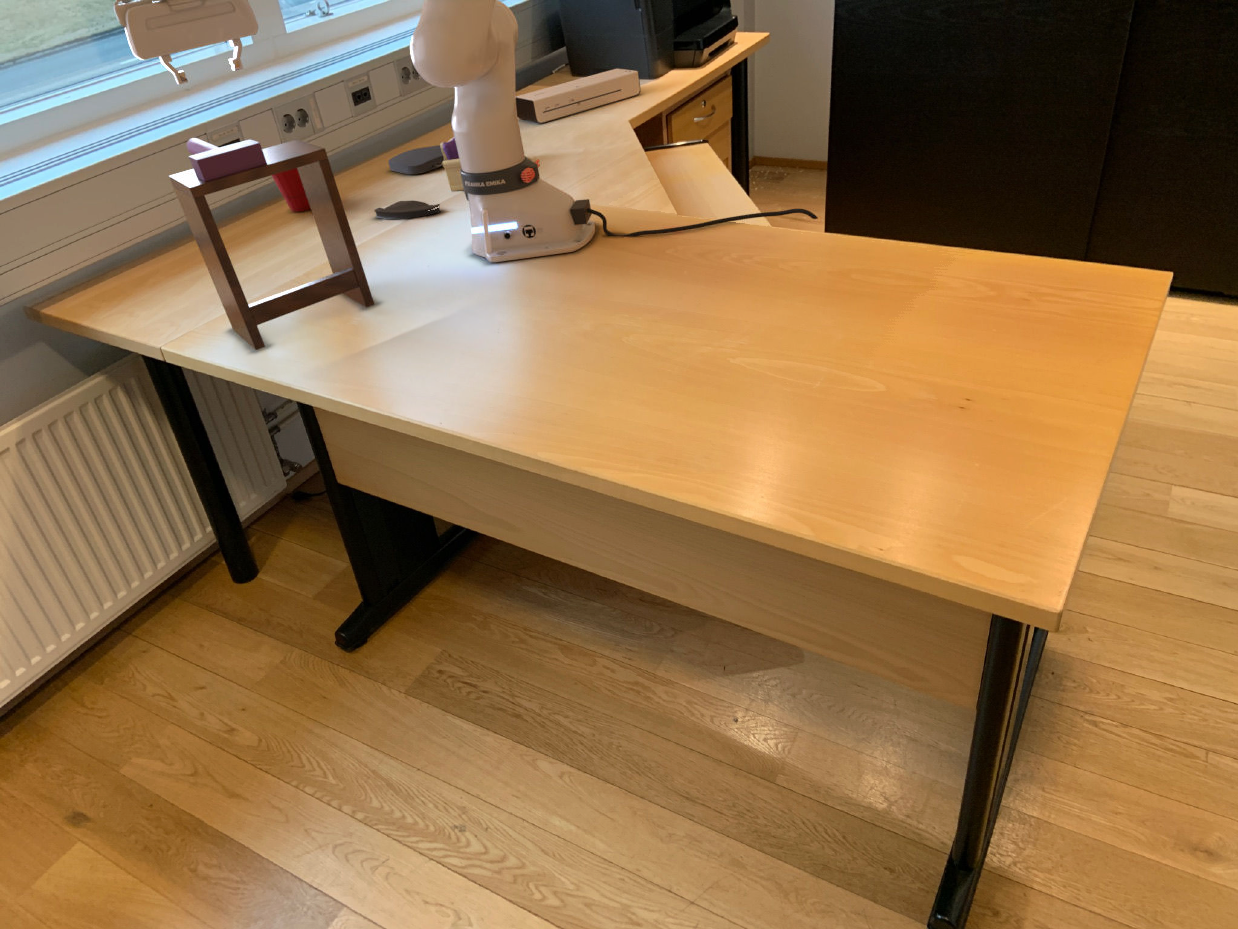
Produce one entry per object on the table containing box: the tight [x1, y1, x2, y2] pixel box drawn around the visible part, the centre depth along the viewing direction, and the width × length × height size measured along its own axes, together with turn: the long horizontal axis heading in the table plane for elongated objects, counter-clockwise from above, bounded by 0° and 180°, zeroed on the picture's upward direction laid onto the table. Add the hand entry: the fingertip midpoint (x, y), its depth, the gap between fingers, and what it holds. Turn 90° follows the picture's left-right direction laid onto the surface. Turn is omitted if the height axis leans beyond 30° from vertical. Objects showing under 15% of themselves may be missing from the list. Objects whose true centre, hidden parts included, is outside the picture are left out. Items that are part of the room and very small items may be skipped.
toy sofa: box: [439, 135, 464, 192], centre depth 199 cm, size 21×9×10 cm, turn 169°
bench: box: [168, 139, 375, 351], centre depth 138 cm, size 20×12×25 cm, turn 127°
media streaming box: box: [387, 144, 445, 175], centre depth 217 cm, size 15×15×3 cm
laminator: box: [516, 67, 641, 125], centre depth 246 cm, size 34×12×6 cm, turn 124°
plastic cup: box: [270, 168, 311, 213], centre depth 197 cm, size 11×11×12 cm
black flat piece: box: [373, 199, 441, 220], centre depth 184 cm, size 8×14×2 cm, turn 57°
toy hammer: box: [186, 137, 267, 182], centre depth 132 cm, size 20×9×3 cm, turn 37°
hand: (210, 76), depth 150 cm, fingers open, 8 cm apart
